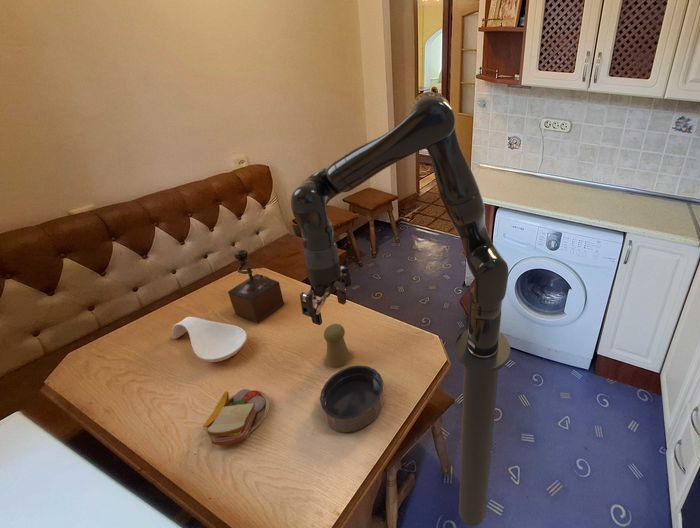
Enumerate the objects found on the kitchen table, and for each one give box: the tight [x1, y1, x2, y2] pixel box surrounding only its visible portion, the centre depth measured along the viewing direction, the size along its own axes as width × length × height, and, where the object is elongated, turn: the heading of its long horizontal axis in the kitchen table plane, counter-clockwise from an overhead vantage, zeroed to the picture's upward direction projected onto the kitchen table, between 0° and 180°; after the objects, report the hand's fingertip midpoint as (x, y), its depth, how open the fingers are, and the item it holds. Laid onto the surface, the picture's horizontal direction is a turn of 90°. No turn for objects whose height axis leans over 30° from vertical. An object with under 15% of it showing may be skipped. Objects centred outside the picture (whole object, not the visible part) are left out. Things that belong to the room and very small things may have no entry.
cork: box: [323, 323, 351, 369], centre depth 96 cm, size 6×6×11 cm
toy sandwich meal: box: [202, 388, 270, 446], centre depth 81 cm, size 12×14×5 cm
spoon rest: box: [171, 316, 248, 363], centre depth 99 cm, size 24×12×7 cm, turn 70°
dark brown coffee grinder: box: [227, 249, 285, 325], centre depth 112 cm, size 16×11×18 cm
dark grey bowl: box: [319, 364, 385, 433], centre depth 85 cm, size 14×14×5 cm
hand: (330, 312), depth 91 cm, fingers open, 8 cm apart
